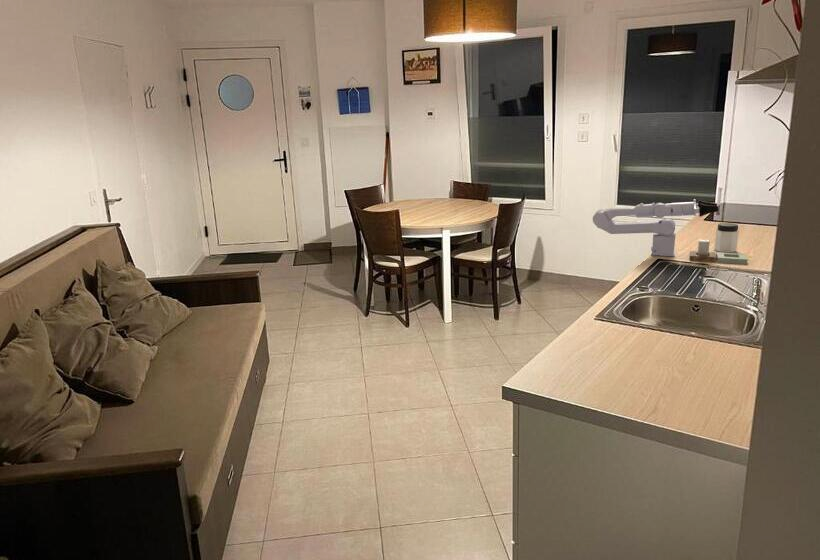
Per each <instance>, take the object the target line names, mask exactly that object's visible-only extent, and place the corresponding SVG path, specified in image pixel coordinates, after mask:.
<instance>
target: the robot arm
mask: <svg viewBox="0 0 820 560" xmlns="http://www.w3.org/2000/svg"><path fill="white" fill-rule="evenodd" d="M696 200H697V199H696V198H695V199H693V201H685V202H683V201H682V202H671V203H663V202H656V203H655V202H652V203H649V204H648V203H647V204H644V203H643V202H641V203H639V204H637V205H635V206H634V207H612V208H605V209H602V208H601V209H598V210H597V211H596V212H595V213H594V215H593V216H592V223H593V224H594V225H595V227H596V228H598V229H600V230H602V231H605V233H608V234H610V235H622V234H624V235H625V234H626V235H627V234H628V235H629V234H649V233H650V234H652V244H651V245H652V246H651V249H650V250H651V256H658V255H659V257H661V256H662V257H663V256H664V257H676V256H675V255H676V254H675V253H676V252H675V246H676V245H675V244H676V232H675V231H676V222H675V221H674V219H673V218H671V217H681V216H682V217H684V216H685V217H686V216H697V214H698V215H699V217H701V218H702V217H704V216H705V215H708V214H713V213H716V212H717V213H718V212H719V205H718V203H715V202H708V201H703V200H701V199H699V200H698V203H697V202H696ZM627 216H635V218H640V219H641V218H653V217H656V218H660V219H661V220H655V221H641V222H637V221H636V222H635V221H634V222H617V223H616V222H615V221H614V220H613V219H614V218H616V217H627ZM665 217H666V218H665ZM668 217H669V218H668ZM662 218H663V219H662Z"/></svg>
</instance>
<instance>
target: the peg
mask: <svg viewBox="0 0 820 560" xmlns="http://www.w3.org/2000/svg"><path fill="white" fill-rule="evenodd" d="M697 251H698V254H697V255H705V256H708V253H709V252H710V239H698V245H697Z"/></svg>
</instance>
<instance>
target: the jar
mask: <svg viewBox="0 0 820 560" xmlns="http://www.w3.org/2000/svg"><path fill="white" fill-rule="evenodd" d="M738 229H739V225H738V224H737V223H731V222H730V223H729V222H719V223H718V224H717V229H716V230H715V240H714V247H713V248H714V249H713V250H714V251H715V252H718V251H719V252H724V253H736V252H737V248H738V241H739V240H738V239H739V230H738Z"/></svg>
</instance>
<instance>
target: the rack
mask: <svg viewBox="0 0 820 560" xmlns="http://www.w3.org/2000/svg"><path fill="white" fill-rule="evenodd" d="M715 254H716V262H717V263H722V264H736V265H737V264H739V265H740V264H741V265H747V264H748V257H747V256H746V253H740V252H739V253H736V252H731V253H727V252H718V251H715Z"/></svg>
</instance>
